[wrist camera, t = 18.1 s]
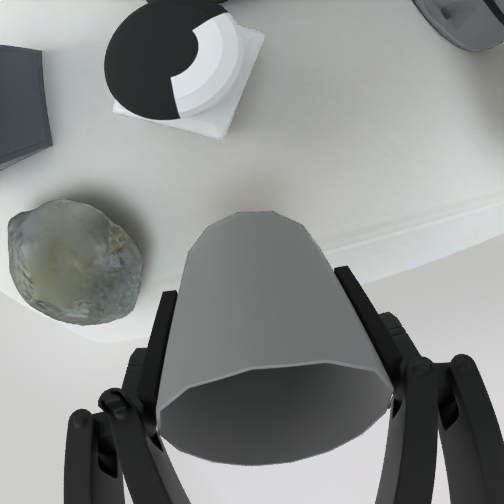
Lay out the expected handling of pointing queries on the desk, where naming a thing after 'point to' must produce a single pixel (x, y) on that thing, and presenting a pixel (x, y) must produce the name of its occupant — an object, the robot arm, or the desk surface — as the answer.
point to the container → (181, 65)
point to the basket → (21, 105)
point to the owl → (216, 0)
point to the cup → (265, 350)
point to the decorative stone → (74, 263)
